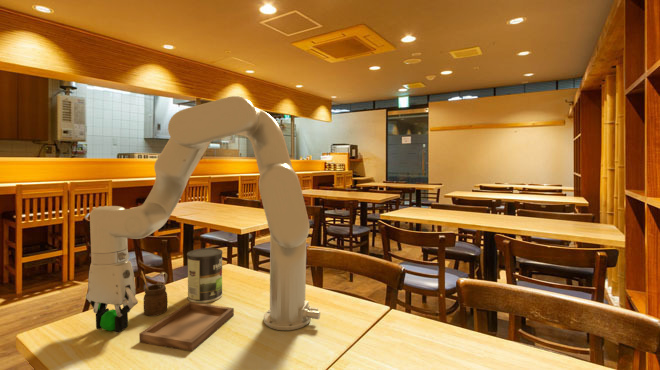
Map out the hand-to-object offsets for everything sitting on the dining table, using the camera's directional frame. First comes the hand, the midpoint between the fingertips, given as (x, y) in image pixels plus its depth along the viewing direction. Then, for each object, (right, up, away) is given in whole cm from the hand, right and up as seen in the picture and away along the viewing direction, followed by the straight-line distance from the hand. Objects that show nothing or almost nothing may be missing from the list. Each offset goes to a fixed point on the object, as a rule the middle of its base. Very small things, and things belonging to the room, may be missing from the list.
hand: (112, 327), depth 83 cm
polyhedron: (0, -1, 0) cm, 1 cm away
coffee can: (+15, +1, +21) cm, 26 cm away
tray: (+19, -1, +2) cm, 19 cm away
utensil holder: (+6, 0, +10) cm, 11 cm away
